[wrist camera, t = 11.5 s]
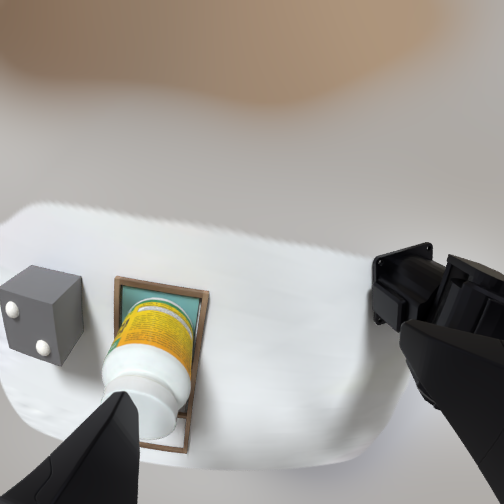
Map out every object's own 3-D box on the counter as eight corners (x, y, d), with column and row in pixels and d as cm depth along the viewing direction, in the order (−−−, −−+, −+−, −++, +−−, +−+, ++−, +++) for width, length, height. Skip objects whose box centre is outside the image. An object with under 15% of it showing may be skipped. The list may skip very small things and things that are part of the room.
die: (31, 265, 18) (-7, 291, 13) (81, 276, 19) (48, 308, 14) (36, 318, 19) (6, 352, 14) (83, 331, 20) (58, 371, 15)
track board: (116, 275, 19) (114, 278, 19) (208, 291, 21) (208, 294, 20) (125, 440, 24) (124, 443, 24) (186, 450, 26) (186, 453, 25)
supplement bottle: (188, 359, 22) (184, 454, 13) (124, 346, 21) (93, 435, 12) (199, 302, 21) (197, 393, 12) (129, 287, 20) (83, 368, 11)
